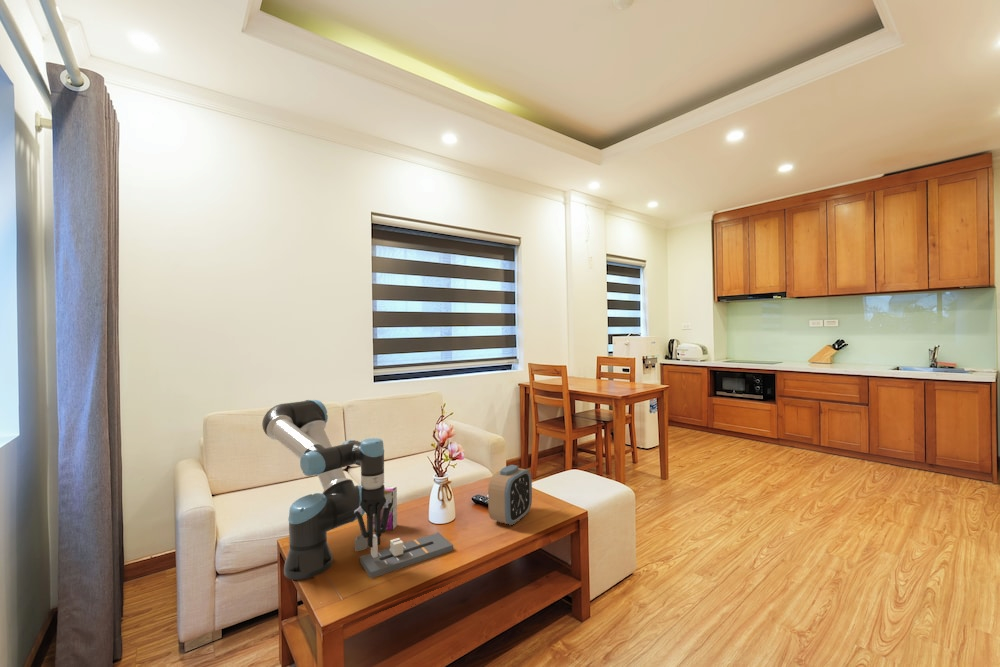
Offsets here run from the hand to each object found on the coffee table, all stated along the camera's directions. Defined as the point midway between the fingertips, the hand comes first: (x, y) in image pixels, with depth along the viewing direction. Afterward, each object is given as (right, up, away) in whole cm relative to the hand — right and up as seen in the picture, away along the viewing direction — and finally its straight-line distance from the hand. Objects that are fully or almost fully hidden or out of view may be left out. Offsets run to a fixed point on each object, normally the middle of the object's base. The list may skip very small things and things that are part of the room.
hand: (374, 555), depth 142 cm
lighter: (-7, -4, +13) cm, 16 cm away
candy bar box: (-6, -4, +29) cm, 30 cm away
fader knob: (+6, -4, +5) cm, 9 cm away
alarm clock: (+47, -4, +35) cm, 59 cm away
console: (+10, -4, +7) cm, 13 cm away
